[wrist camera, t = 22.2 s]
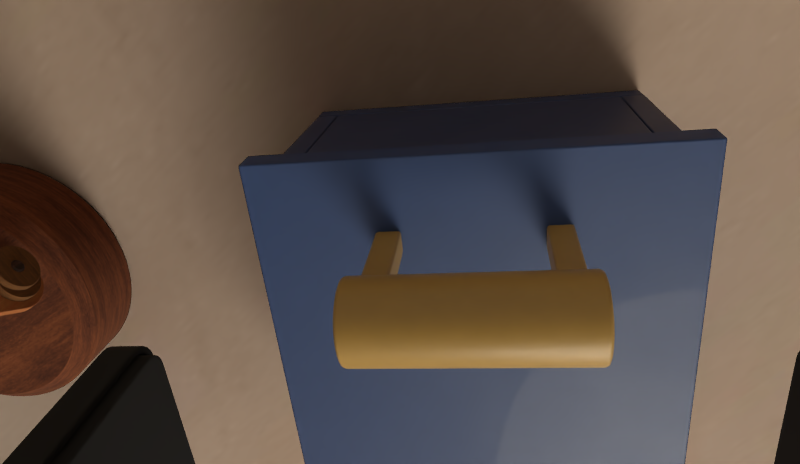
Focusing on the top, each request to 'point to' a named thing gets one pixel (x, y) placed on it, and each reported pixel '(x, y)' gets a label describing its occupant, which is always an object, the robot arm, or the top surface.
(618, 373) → the lid
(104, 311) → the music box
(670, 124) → the case
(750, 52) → the top surface
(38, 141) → the top surface
